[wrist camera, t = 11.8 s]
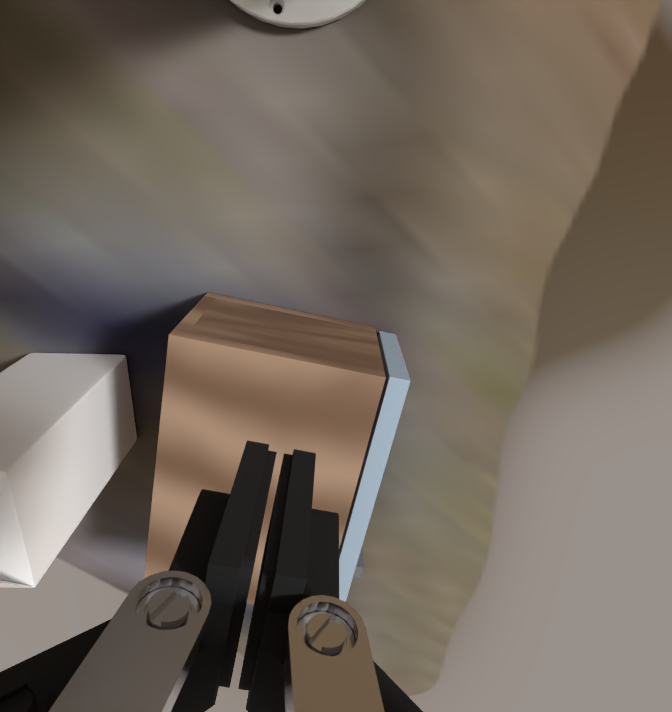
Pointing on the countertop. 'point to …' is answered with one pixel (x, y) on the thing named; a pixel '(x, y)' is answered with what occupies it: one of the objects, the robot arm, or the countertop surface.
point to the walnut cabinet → (260, 409)
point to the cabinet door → (373, 461)
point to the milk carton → (56, 452)
